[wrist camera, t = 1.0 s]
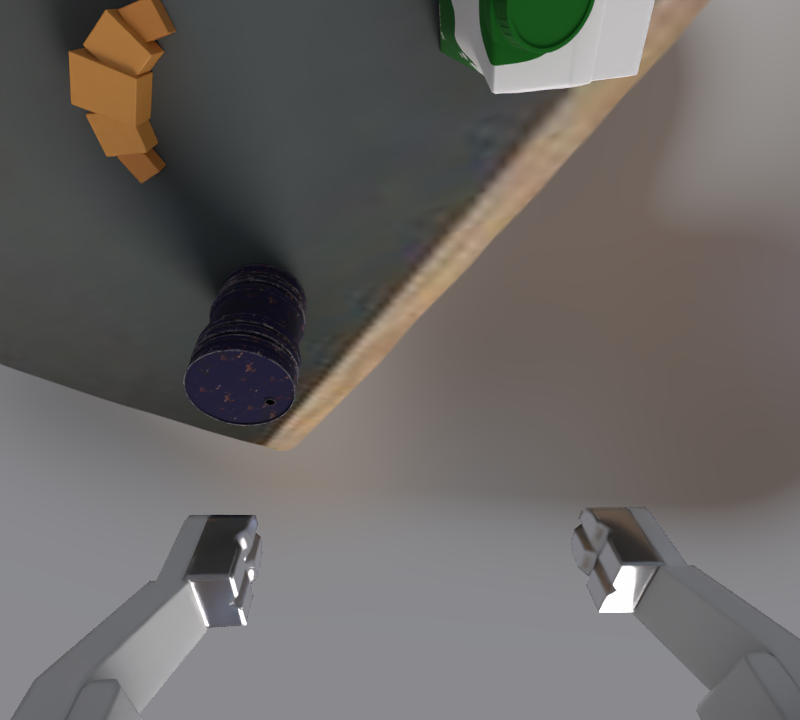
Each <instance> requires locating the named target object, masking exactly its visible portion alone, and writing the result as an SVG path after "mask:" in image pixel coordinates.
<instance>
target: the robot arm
mask: <svg viewBox="0 0 800 720" xmlns="http://www.w3.org/2000/svg"><path fill="white" fill-rule="evenodd" d="M579 519H580V521H581V523H582V524H581V525H580V526H578V527H577V528H576V529H574V532H573V535H572V551H573V554H574V558H575V561H576V563H577V565H578V568H579V569H581V570H582V571H583V572H584V573H585V574H586V575H588V576H589V577H588V581H587V588H588V590H589V592H590V594H591V596H592V599H593V600H594V603H595V605H596V607H597V609H598V612H634V613H633V615H634V616H635V617H636V618H637V619H639V621H641V623H642V624H643V625H645V626H646V628H647V629H649V630H650V631H651V632H652V633H653V634H654V635H655V636H656V637H657V638H658V639H659V640H660V641H661V642H662V643H663V644H664V645H665V646H666V647H667V648H668V649H669V650H670V651H671V652H672V653H673V654H674V655H675V656H676V657H677V658H678V659H679V660H680V661H681V662H682V663H683V664H684V665H685V666H686V667H687V668H688V669H689V670H690V671H691V672H692V673H693V674H694V675H695V676H696V677H697V678H698V679H699V680H700V681H701V682H702V683H703V684H704V685H705V686H706V687H707V688H708V689H709V690H710V692H709V693H708V694H707V695H706V696H705V697H704V699H703V700H702V701H701V702H700V703H699V704H698V708H697V713H698V715H699V717H700V719H701V720H800V639H799V638H798V637H797V636H795V635H794V634H792V633H791V632H789V631H788V630H786V629H785V628H783V627H782V626H781V625H779V624H778V623H776V622H775V621H773V620H772V619H770V618H769V617H768V616H766V615H765V614H763V613H762V612H760V611H759V610H757V609H756V608H755V607H753V606H752V605H750V604H749V603H747V602H746V601H745V600H743V599H742V598H740V597H739V596H737V595H736V594H734V593H733V592H732V591H730V590H729V589H727V588H725V587H724V586H723V585H721V584H720V583H719V582H717V581H716V580H714V579H713V578H711V577H710V576H708V575H707V574H706V573H704V572H702V571H701V570H700V569H698V568H697V567H695V566H693V565H687V564H686V562H685V561H684V559H683V558H682V556H681V555H680V553H679V552H678V551H677V549H676V548H675V546H674V545H673V544H672V542H671V541H670V539H669V538H668V536H667V535H666V534H665V532H664V531H663V530H662V528H661V526H660V525H659V524H658V522H657V521H656V519H655V518H654V516H653V515H652V514H651V512H650V511H649V510H648V509H647V508H645V507H598V508H597V507H596V508H585V509H584V510H582V511H581V514H580V516H579ZM257 526H258V523H257V519H256V515H190V516H189V517H188V518H187V519H186V520H185V521H184V523H183V525H182V527H181V529H180V531H179V534H178V536H177V538H176V540H175V542H174V544H173V547H172V549H171V551H170V553H169V555H168V557H167V559H166V561H165V564H164V566H163V568H162V570H161V572H160V574H159V576H158V579H157V581H149V582H148V583H147V584H146V585H145V586H144V587H142V588H141V589H140V590H139V591H138V592H136V593H135V594H134V595H133V596H132V597H131V598H129V599H128V600H127V601H126V602H125V603H124V604H122V605H121V606H120V607H119V608H118V609H117V610H116V611H114V612H113V613H112V614H111V615H110V616H108V617H107V618H106V619H105V620H104V621H103V622H101V624H99V625H98V626H97V627H96V628H94V629H93V630H92V631H91V632H90V633H89V634H87V635H86V636H85V637H84V638H83V639H82V640H80V641H79V642H78V643H77V644H76V645H75V646H73V647H72V648H71V649H70V650H69V651H68V652H66V653H65V654H64V655H63V656H62V657H61V658H59V659H58V660H57V661H56V662H55V663H54V664H53V665H51V666H50V667H49V668H48V669H47V670H45V671H44V672H43V673H42V674H41V675H40V676H38V677H37V678H36V679H35V680H34V682H33V683H32V685H31V687H30V688H29V690H28V692H27V693H26V695H25V697H24V698H23V700H22V701H21V703H20V705H19V707H18V708H17V710H16V711H15V713H14V715H13V717H12V718H11V720H143V719H142V718H141V716H140V715H139V713H140V712H141V711H142V710H143V709H144V707H145V706H146V705H147V704H148V702H149V701H150V700H151V699H152V698H153V696H154V695H155V694H156V693H157V691H158V690H159V689H160V688H161V686H162V685H163V684H164V683H165V682H166V680H167V679H168V678H169V677H170V675H171V674H172V673H173V672H174V671H175V669H176V668H177V667H178V666H179V664H180V663H181V662H182V661H183V659H184V658H185V657H186V656H187V654H188V653H189V652H190V651H191V650H192V648H193V647H194V646H195V645H196V643H197V642H198V641H199V640H200V639H201V637H202V636H203V635H204V634H205V632H206V631H207V628H211V627H226V626H241V625H246V622H247V618H248V614H249V610H250V606H251V602H252V598H253V593H252V589H251V584H252V583H253V582H254V581H255V580H256V579H257V577H258V574H259V569H260V565H261V557H262V542H261V537H260V536H259V535H258V534H257V533H256V530H257Z"/></svg>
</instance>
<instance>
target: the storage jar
mask: <svg viewBox="0 0 800 720" xmlns="http://www.w3.org/2000/svg"><path fill="white" fill-rule="evenodd" d="M305 322H306V296H305V293H304V291H303V288H302V287H301V285H300V284H299V283H298V281H297V280H296V279H295V278H294V277H293V276H291V275H290V274H289V273H287V272H286V271H284V270H282V269H280V268H278V267H275V266H272V265H266V264H249V265H245V266H242V267H240V268H237V269H236V270H234V271H233V272H231V273H230V274H229V275H228V276H227V278H226V279H225V281H224V283H223V285H222V288H221V289H220V291H219V292H218V294H217V296H216V299H215V301H214V302H213V305H212V307H211V311H210V323H209V325H207V326H206V328H205V329H204V330H203V331H202V333H201V334H200V336H199V338H198V340H197V344H196V346H195V348H194V350H193V353H192V355H191V360H190V363H189V366H188V368H187V370H186V373H185V375H184V381H183V382H184V389H185V393H186V395H187V397H188V398H189V400H190V401H191V402H192V404H193V405H194V406H195V407H196V408H197V409H199V410H200V411H201V412H203V413H204V414H206V415H208V416H209V417H211V418H214V419H216V420H218V421H222V422H225V423H229V424H234V425H243V426H252V425H260V424H265V423H268V422H271V421H274V420H276V419H278V418H280V417H281V416H283V415H284V414H285V413H286V412H287V411H288V410H289V409H290V408H291V406H292V405H293V402H294V400H295V393H296V385H297V382H298V378H299V370H300V364H301V355H300V349H299V345H300V343H301V341H302V339H303V336H304V331H305Z"/></svg>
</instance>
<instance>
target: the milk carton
mask: <svg viewBox="0 0 800 720" xmlns="http://www.w3.org/2000/svg"><path fill="white" fill-rule="evenodd" d="M654 1H655V0H439V17H440V51H441V52H442V53H444V54H446V55H448V56H450V57H451V58H453V59H455V60H457V61H459V62H461V63H463V64H465V65H467V66H468V67H470V68H472V69H474V70H475V71H477V72H479V73H481V74H482V75H484V76H485V78H486V81H487V83H488V85H489V87H490V89H491V92H492V93H495V94H499V93H521V92H530V91H539V90H547V89H562V88H570V87H577V86H581V85H585V84H589V83H591V81H595V80H603V79H611V78H619V77H627V76H634V75H637V73H638V69H639V65H640V60H641V56H642V52H643V48H644V44H645V39H646V35H647V31H648V27H649V23H650V18H651V14H652V10H653V6H654Z"/></svg>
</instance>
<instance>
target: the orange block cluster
mask: <svg viewBox="0 0 800 720" xmlns="http://www.w3.org/2000/svg"><path fill="white" fill-rule="evenodd" d="M174 32H176V29H175V27H174V26H173V24H172V22H171V20H170V18H169V16H168V14H167V12H166V10H165V8H164V6H163V4H162V2H161V1H160V0H138V1H136V2H133V3H131V4H129V5H126V6H124V7H122V8H120V9H106V10H105V11H104V13H103V14H102V16H101V17H100V19H99V20H98V22H97V23H96V25H95V26H94V28H93V30H92V31H91V33H90V34H89V36H88V37H87V39H86V40H85V42H84V43H83V46H84V47H85V48H81V49H76V50H71V51H69V70H70V89H71V104H72V105H75V106H78V107H80V108H83V109H86V110H88V111H91V112H89V113H87V114H86V117H87V119H88V121H89V123H90V125H91V127H92V129H93V130H94V132H95V134H96V136H97V138H98V140H99V142H100V144H101V146H102V148H103V150H104V152H105V154H106V156H107V157H111V156H117V158H118V159H119V160H120V161H121V162H122V163H123V164H124V165H125V166H126V167H127V168H128V170H129V171H130V172H131V173H132V174H133V175H134V176H135V177H136V178H137V179H138V180H139V182H140V183H143V182H145V181H146V180H148V179H149V178H151V177H152V176H154V175H155V174H157V173H158V172H160V171H161V170H162V169H163V168H164V167H165V166H166V164H165V163H164V162H163V160H162V159H161V158H160V157H159V156H158V154H157V153H156V152H155V151H154V150H153V149H152V148H153V147H154V146H155V145H157V144H158V141H157V138H156V136H155V134H154V131H153V129H152V127H151V124H150V122H149V120H148V119H150V118H151V99H152V79H153V72H151V71H150V70H151V69H152V68H153V66H154V65H155V64H156V62H157V61H158V59H159V58H160V57H161V55H162V54H163V53H164V50H163V49H162V48H161V47H160V46H159V45H158V44H157V43H156V42H155V40H157V39H160V38H162V37H164V36H167V35H169V34H172V33H174Z"/></svg>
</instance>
